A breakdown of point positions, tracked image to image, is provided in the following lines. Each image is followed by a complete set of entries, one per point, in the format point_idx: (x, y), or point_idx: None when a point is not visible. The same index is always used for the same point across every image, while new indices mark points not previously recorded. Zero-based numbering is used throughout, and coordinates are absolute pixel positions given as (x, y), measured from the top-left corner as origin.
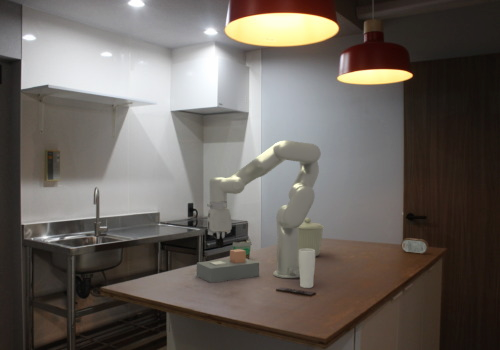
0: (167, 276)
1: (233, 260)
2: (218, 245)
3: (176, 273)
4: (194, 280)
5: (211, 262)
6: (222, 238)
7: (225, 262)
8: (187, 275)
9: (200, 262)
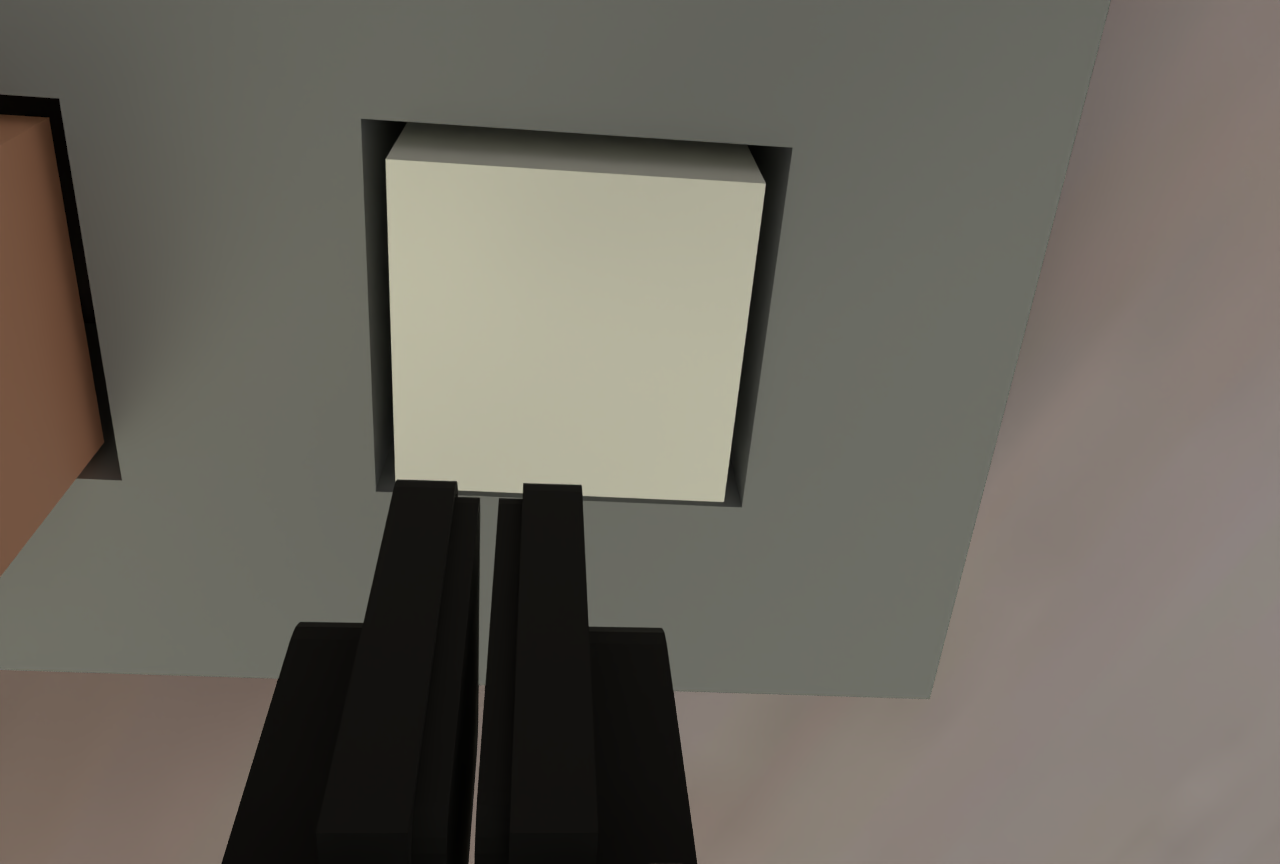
0: (1248, 724)
1: (31, 279)
2: (589, 630)
3: (1012, 810)
4: (1107, 258)
5: (709, 457)
6: (331, 845)
7: (293, 365)
8: (959, 632)
9: (855, 668)
